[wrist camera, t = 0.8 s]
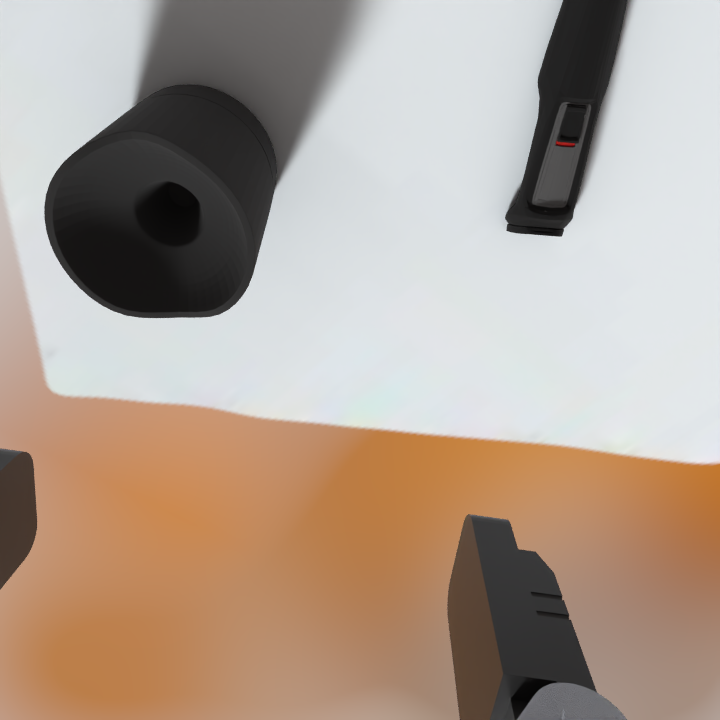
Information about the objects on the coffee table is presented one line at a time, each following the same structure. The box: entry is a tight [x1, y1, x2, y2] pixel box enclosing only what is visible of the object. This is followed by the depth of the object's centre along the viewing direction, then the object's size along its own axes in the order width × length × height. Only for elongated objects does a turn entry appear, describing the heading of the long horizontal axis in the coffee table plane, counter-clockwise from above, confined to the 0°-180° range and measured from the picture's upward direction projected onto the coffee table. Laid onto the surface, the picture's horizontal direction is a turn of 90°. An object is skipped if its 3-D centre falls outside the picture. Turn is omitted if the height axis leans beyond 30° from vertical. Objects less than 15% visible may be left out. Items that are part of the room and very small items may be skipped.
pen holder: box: [45, 85, 277, 318], centre depth 33 cm, size 9×9×10 cm
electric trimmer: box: [505, 0, 627, 237], centre depth 33 cm, size 4×16×3 cm, turn 176°
